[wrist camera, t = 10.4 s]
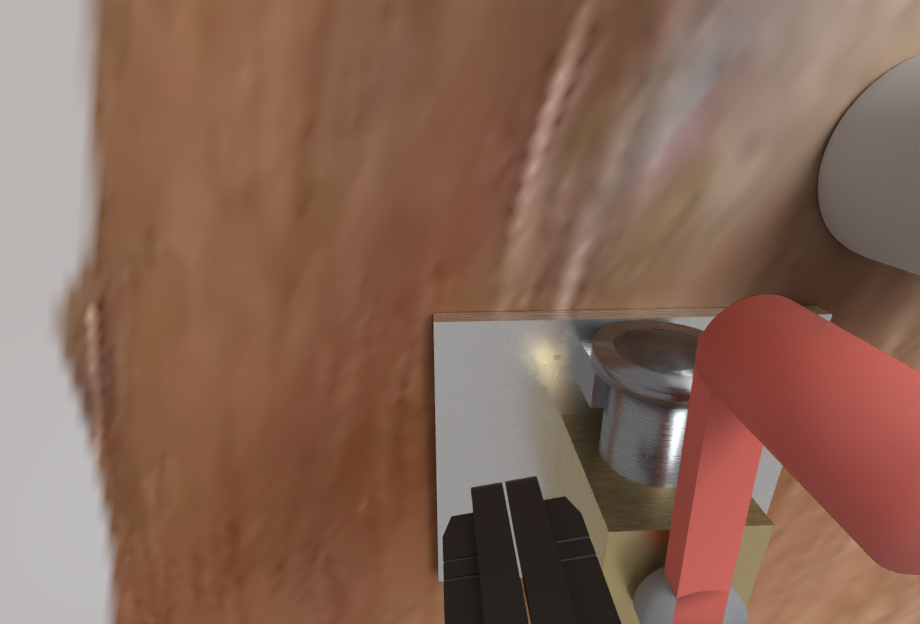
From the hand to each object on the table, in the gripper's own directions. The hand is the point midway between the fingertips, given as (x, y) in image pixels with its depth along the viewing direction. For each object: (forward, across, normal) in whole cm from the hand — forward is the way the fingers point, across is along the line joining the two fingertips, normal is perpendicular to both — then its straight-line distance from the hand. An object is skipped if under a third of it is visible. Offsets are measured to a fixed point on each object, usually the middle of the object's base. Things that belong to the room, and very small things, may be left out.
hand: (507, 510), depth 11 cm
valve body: (+12, -6, +10) cm, 16 cm away
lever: (+4, -6, +4) cm, 9 cm away
